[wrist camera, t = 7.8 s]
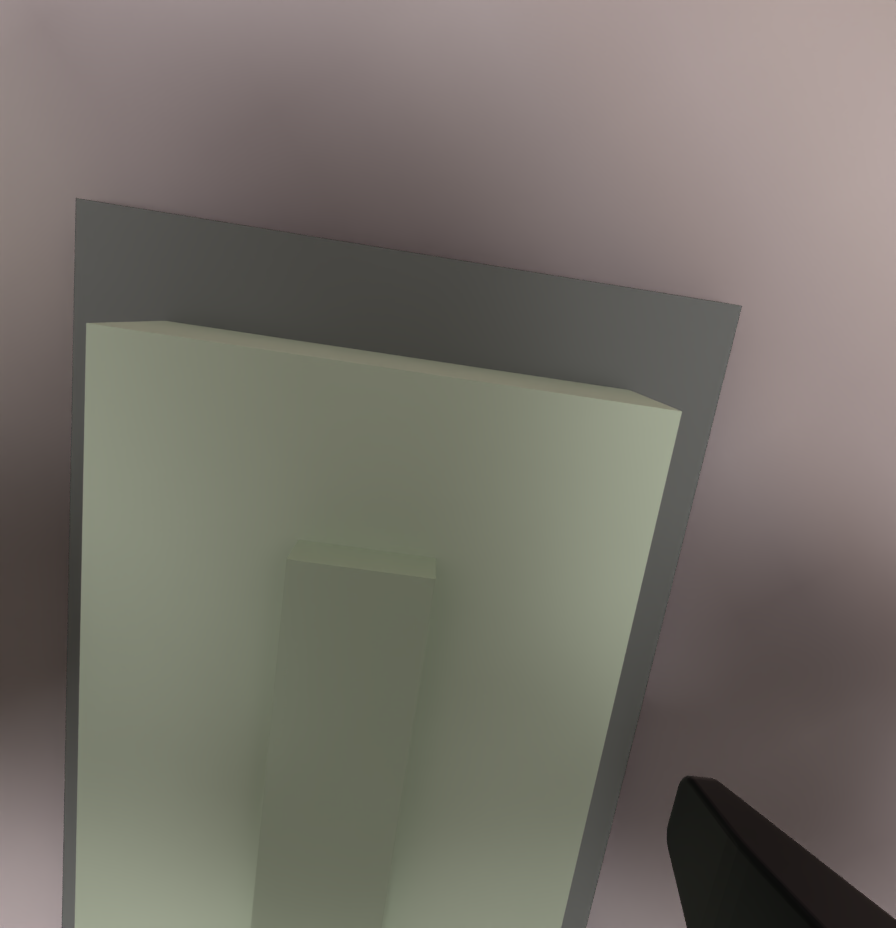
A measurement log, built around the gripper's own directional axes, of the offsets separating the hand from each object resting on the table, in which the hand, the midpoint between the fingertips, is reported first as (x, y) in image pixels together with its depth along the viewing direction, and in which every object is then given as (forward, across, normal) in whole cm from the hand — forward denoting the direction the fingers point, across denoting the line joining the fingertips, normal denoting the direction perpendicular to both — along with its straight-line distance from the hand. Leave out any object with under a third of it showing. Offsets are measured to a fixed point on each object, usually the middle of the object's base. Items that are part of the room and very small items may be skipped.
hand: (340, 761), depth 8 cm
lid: (+2, 0, 0) cm, 2 cm away
